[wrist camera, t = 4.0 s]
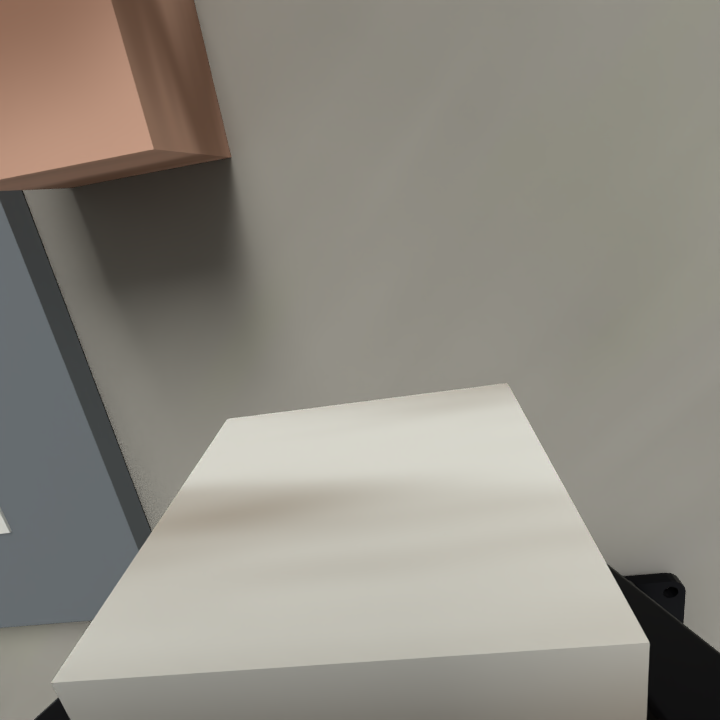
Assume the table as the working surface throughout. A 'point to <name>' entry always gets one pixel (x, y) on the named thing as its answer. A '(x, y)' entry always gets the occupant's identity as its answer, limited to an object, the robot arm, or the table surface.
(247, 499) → the off-white block
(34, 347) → the blue-grey square plate
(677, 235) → the table surface
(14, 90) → the terracotta block
